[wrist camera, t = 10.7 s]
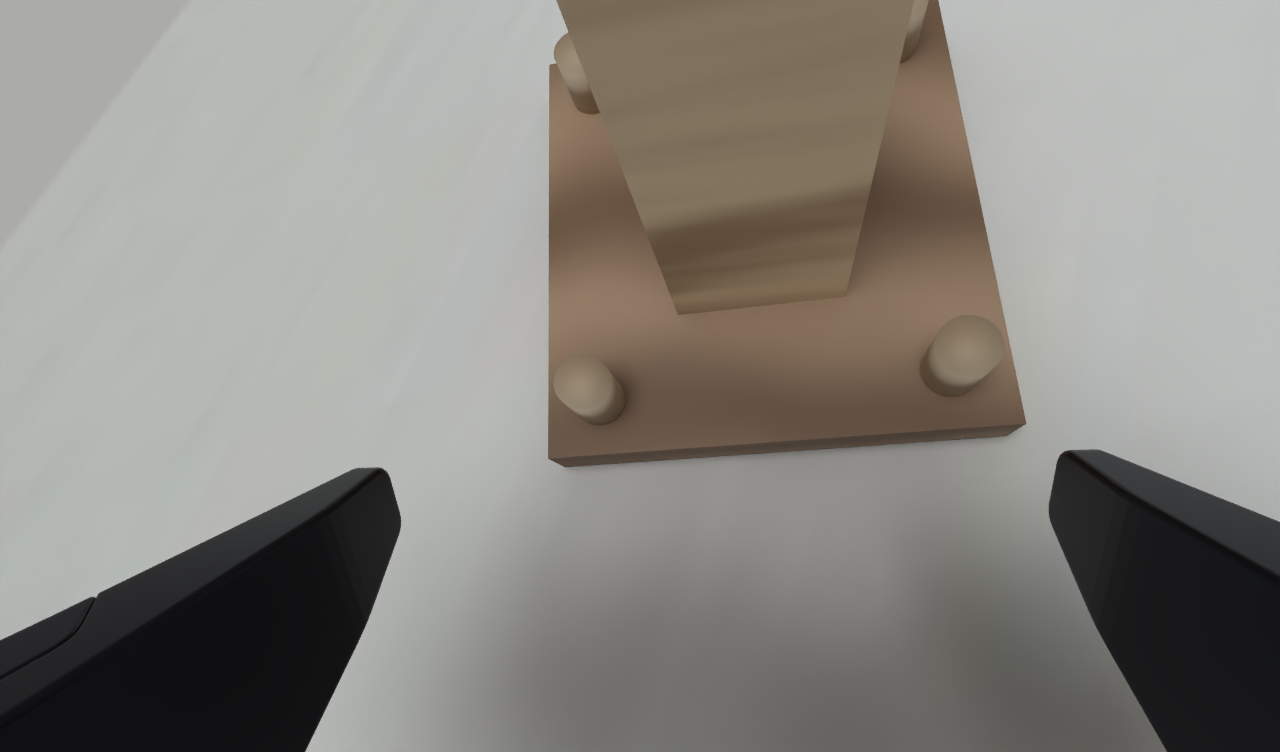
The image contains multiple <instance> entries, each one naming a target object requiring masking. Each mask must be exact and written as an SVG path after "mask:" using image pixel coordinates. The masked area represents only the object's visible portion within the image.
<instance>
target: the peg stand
mask: <svg viewBox="0 0 1280 752" xmlns="http://www.w3.org/2000/svg"><path fill="white" fill-rule="evenodd" d="M554 58H555V61H556V63H557V64H551V65H550V76H549V415H548V459H550V460H552V461H554V462H556V463H558V464H560V465H562V466H564V467H572V466H586V465H601V464H615V463H629V462H643V461H658V460H672V459H686V458H700V457H714V456H729V455H743V454H757V453H771V452H786V451H800V450H814V449H828V448H842V447H857V446H871V445H885V444H899V443H913V442H928V441H942V440H956V439H970V438H985V437H999V436H1007V435H1009V434H1010V433H1012V432H1014V431H1015V430H1017V429H1018V428H1020V427H1022V426H1023V425H1025V424H1026V421H1025V416H1024V411H1023V406H1022V402H1021V397H1020V392H1019V387H1018V382H1017V378H1016V373H1015V368H1014V363H1013V358H1012V353H1011V349H1010V344H1009V339H1008V334H1007V329H1006V325H1005V320H1004V315H1003V310H1002V305H1001V301H1000V296H999V291H998V286H997V281H996V277H995V272H994V267H993V262H992V257H991V252H990V248H989V243H988V238H987V233H986V228H985V224H984V219H983V214H982V209H981V204H980V200H979V195H978V190H977V185H976V180H975V175H974V171H973V166H972V161H971V156H970V151H969V147H968V142H967V137H966V132H965V127H964V123H963V118H962V113H961V108H960V103H959V99H958V94H957V89H956V84H955V79H954V74H953V70H952V65H951V60H950V55H949V50H948V46H947V41H946V36H945V31H944V26H943V22H942V17H941V12H940V7H939V2H938V0H914V3H913V8H912V12H911V16H910V20H909V25H908V29H907V33H906V38H905V42H904V46H903V51H902V55H901V59H900V64H899V68H898V72H897V76H896V81H895V85H894V89H893V94H892V98H891V102H890V107H889V111H888V115H887V119H886V124H885V128H884V132H883V137H882V141H881V145H880V150H879V154H878V158H877V163H876V167H875V171H874V175H873V180H872V184H871V188H870V193H869V197H868V201H867V206H866V210H865V214H864V219H863V223H862V227H861V231H860V236H859V240H858V244H857V249H856V253H855V257H854V262H853V266H852V270H851V275H850V279H849V283H848V287H847V292H846V296H845V297H838V298H829V299H820V300H811V301H802V302H792V303H783V304H774V305H765V306H756V307H747V308H738V309H729V310H720V311H711V312H701V313H692V314H683V315H678V314H677V311H676V309H675V306H674V303H673V301H672V298H671V296H670V293H669V290H668V288H667V285H666V283H665V280H664V278H663V275H662V272H661V270H660V267H659V265H658V262H657V259H656V257H655V254H654V252H653V249H652V246H651V244H650V241H649V239H648V236H647V234H646V231H645V228H644V226H643V223H642V221H641V218H640V215H639V213H638V210H637V208H636V205H635V202H634V200H633V197H632V195H631V192H630V190H629V187H628V184H627V182H626V179H625V177H624V174H623V171H622V169H621V166H620V164H619V161H618V158H617V156H616V153H615V151H614V148H613V145H612V143H611V140H610V138H609V135H608V133H607V130H606V127H605V125H604V122H603V120H602V117H601V114H600V112H599V109H598V107H597V104H596V101H595V99H594V96H593V94H592V91H591V89H590V86H589V83H588V81H587V78H586V76H585V73H584V70H583V68H582V65H581V63H580V60H579V57H578V55H577V52H576V50H575V47H574V45H573V42H572V39H571V37H570V34H569V33H567V34H565V35H564V36H563V37H562V38H561V39H560V40H559V41H558V42H557V44H556V46H555V49H554Z"/></svg>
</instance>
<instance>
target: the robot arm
mask: <svg viewBox="0 0 1280 752" xmlns="http://www.w3.org/2000/svg"><path fill="white" fill-rule="evenodd" d="M1049 517H1050V522H1051V525H1052V527H1053V529H1054V532H1055V534H1056V536H1057V539H1058V541H1059V543H1060V546H1061V548H1062V550H1063V553H1064V555H1065V557H1066V560H1067V562H1068V564H1069V567H1070V569H1071V571H1072V573H1073V576H1074V578H1075V580H1076V583H1077V585H1078V587H1079V590H1080V592H1081V594H1082V597H1083V599H1084V601H1085V604H1086V606H1087V608H1088V611H1089V613H1090V615H1091V617H1092V619H1093V621H1094V623H1095V625H1096V628H1097V629H1098V631H1099V633H1100V635H1101V637H1102V639H1103V641H1104V642H1105V644H1106V646H1107V648H1108V650H1109V651H1110V653H1111V655H1112V657H1113V658H1114V660H1115V662H1116V664H1117V665H1118V667H1119V669H1120V671H1121V672H1122V674H1123V676H1124V677H1125V679H1126V681H1127V683H1128V684H1129V686H1130V688H1131V690H1132V691H1133V693H1134V695H1135V697H1136V698H1137V700H1138V702H1139V704H1140V705H1141V707H1142V709H1143V711H1144V712H1145V714H1146V716H1147V718H1148V719H1149V721H1150V723H1151V725H1152V726H1153V728H1154V730H1155V731H1156V733H1157V735H1158V737H1159V738H1160V740H1161V742H1162V744H1163V745H1164V747H1165V749H1166V751H1167V752H1280V522H1279V521H1276V520H1274V519H1271V518H1269V517H1266V516H1264V515H1261V514H1259V513H1256V512H1254V511H1251V510H1249V509H1246V508H1244V507H1241V506H1239V505H1236V504H1234V503H1231V502H1229V501H1226V500H1224V499H1221V498H1219V497H1216V496H1214V495H1211V494H1209V493H1206V492H1204V491H1201V490H1199V489H1196V488H1194V487H1191V486H1189V485H1186V484H1184V483H1181V482H1179V481H1176V480H1174V479H1171V478H1169V477H1166V476H1164V475H1161V474H1159V473H1156V472H1154V471H1151V470H1149V469H1146V468H1144V467H1141V466H1139V465H1136V464H1134V463H1131V462H1129V461H1126V460H1124V459H1121V458H1119V457H1116V456H1114V455H1111V454H1109V453H1106V452H1104V451H1101V450H1068V451H1065V452H1063V453H1062V454H1061V455H1060V457H1059V458H1058V461H1057V465H1056V470H1055V475H1054V481H1053V486H1052V491H1051V496H1050V501H1049ZM400 528H401V516H400V512H399V508H398V504H397V501H396V497H395V494H394V490H393V487H392V483H391V480H390V477H389V474H388V473H387V471H385V470H384V469H382V468H356V469H353V470H351V471H349V472H347V473H344V474H342V475H340V476H338V477H336V478H334V479H332V480H330V481H328V482H326V483H324V484H322V485H320V486H318V487H316V488H314V489H312V490H310V491H308V492H306V493H303V494H301V495H299V496H297V497H295V498H293V499H291V500H289V501H287V502H285V503H283V504H281V505H279V506H277V507H275V508H273V509H271V510H269V511H267V512H264V513H262V514H260V515H258V516H256V517H254V518H252V519H250V520H248V521H246V522H244V523H242V524H240V525H238V526H236V527H234V528H232V529H230V530H228V531H225V532H223V533H221V534H219V535H217V536H215V537H213V538H211V539H209V540H207V541H205V542H203V543H201V544H199V545H197V546H195V547H193V548H191V549H189V550H187V551H184V552H182V553H180V554H178V555H176V556H174V557H172V558H170V559H168V560H166V561H164V562H162V563H160V564H158V565H156V566H154V567H152V568H150V569H148V570H145V571H143V572H141V573H139V574H137V575H135V576H133V577H131V578H129V579H127V580H125V581H123V582H121V583H119V584H117V585H115V586H113V587H111V588H109V589H106V590H104V591H102V592H100V593H99V594H98V595H97V597H96V598H95V597H90V598H88V599H86V600H84V601H82V602H80V603H77V604H75V605H73V606H71V607H69V608H67V609H65V610H63V611H61V612H59V613H57V614H55V615H53V616H51V617H48V618H46V619H44V620H42V621H40V622H38V623H36V624H34V625H32V626H30V627H27V628H25V629H23V630H21V631H19V632H17V633H15V634H13V635H11V636H8V637H6V638H4V639H2V640H0V752H305V751H306V749H307V747H308V745H309V743H310V741H311V739H312V737H313V734H314V732H315V730H316V728H317V726H318V724H319V722H320V720H321V718H322V716H323V714H324V712H325V710H326V708H327V706H328V703H329V701H330V699H331V697H332V695H333V693H334V691H335V689H336V687H337V685H338V683H339V681H340V679H341V677H342V675H343V673H344V670H345V668H346V666H347V664H348V662H349V660H350V658H351V656H352V654H353V652H354V650H355V648H356V646H357V644H358V642H359V639H360V637H361V635H362V633H363V630H364V628H365V626H366V624H367V621H368V619H369V616H370V614H371V611H372V608H373V606H374V603H375V600H376V597H377V595H378V592H379V589H380V586H381V583H382V581H383V578H384V575H385V572H386V569H387V567H388V564H389V561H390V558H391V555H392V553H393V550H394V547H395V544H396V541H397V539H398V536H399V533H400Z"/></svg>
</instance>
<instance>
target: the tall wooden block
mask: <svg viewBox="0 0 1280 752" xmlns="http://www.w3.org/2000/svg"><path fill="white" fill-rule="evenodd" d="M556 1H557V3H558V6H559V8H560V11H561V13H562V16H563V19H564V21H565V24H566V26H567V29H568V32H569V34H570V37H571V39H572V42H573V45H574V47H575V50H576V52H577V55H578V57H579V60H580V63H581V65H582V68H583V70H584V73H585V76H586V78H587V81H588V83H589V86H590V89H591V91H592V94H593V96H594V99H595V101H596V104H597V107H598V109H599V112H600V114H601V117H602V120H603V122H604V125H605V127H606V130H607V133H608V135H609V138H610V140H611V143H612V145H613V148H614V151H615V153H616V156H617V158H618V161H619V164H620V166H621V169H622V171H623V174H624V177H625V179H626V182H627V184H628V187H629V190H630V192H631V195H632V197H633V200H634V202H635V205H636V208H637V210H638V213H639V215H640V218H641V221H642V223H643V226H644V228H645V231H646V234H647V236H648V239H649V241H650V244H651V246H652V249H653V252H654V254H655V257H656V259H657V262H658V265H659V267H660V270H661V272H662V275H663V278H664V280H665V283H666V285H667V288H668V290H669V293H670V296H671V298H672V301H673V303H674V306H675V309H676V311H677V314H678V315H683V314H692V313H701V312H711V311H720V310H729V309H738V308H747V307H756V306H765V305H774V304H783V303H792V302H802V301H811V300H820V299H829V298H838V297H845V296H846V292H847V287H848V283H849V279H850V275H851V270H852V266H853V262H854V257H855V253H856V249H857V244H858V240H859V236H860V231H861V227H862V223H863V219H864V214H865V210H866V206H867V201H868V197H869V193H870V188H871V184H872V180H873V175H874V171H875V167H876V163H877V158H878V154H879V150H880V145H881V141H882V137H883V132H884V128H885V124H886V119H887V115H888V111H889V107H890V102H891V98H892V94H893V89H894V85H895V81H896V76H897V72H898V68H899V64H900V59H901V55H902V51H903V46H904V42H905V38H906V33H907V29H908V25H909V20H910V16H911V12H912V8H913V3H914V0H556Z"/></svg>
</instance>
